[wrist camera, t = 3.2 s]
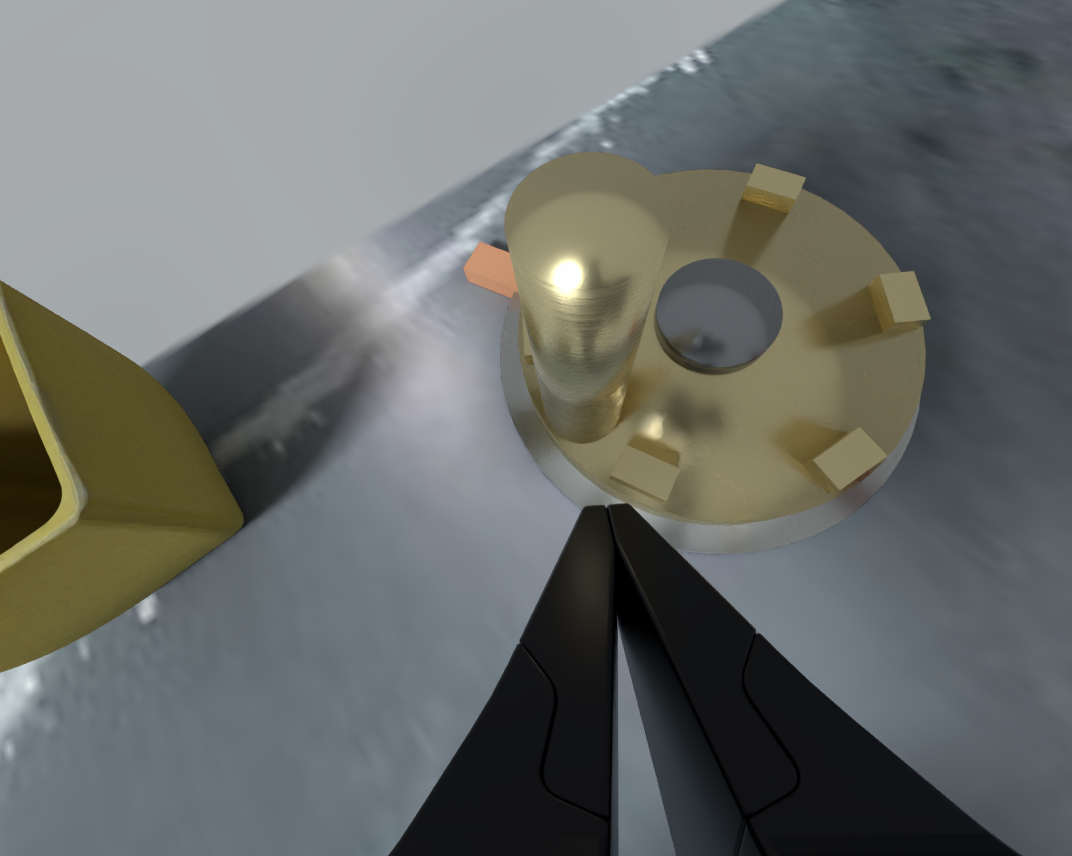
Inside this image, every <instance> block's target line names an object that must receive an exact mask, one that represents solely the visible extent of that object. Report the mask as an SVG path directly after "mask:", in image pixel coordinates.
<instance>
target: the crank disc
mask: <svg viewBox="0 0 1072 856" xmlns="http://www.w3.org/2000/svg"><path fill="white" fill-rule="evenodd" d="M805 179H806V177H803V176H799V175H796V174H792V173H789V172H785V171H782V170H778V169H775V168H771V167H768V166H764V165H761V164H756V166H755V168H754V170H753V172H752V173H746V172H738V171H731V170H708V169H704V170H688V171H679V172H673V173H667V174H661V175H657V176H654V175H653V174H652V173H651V172H650V171H649V170H648V169H646V168H645V167H643V166H642V165H640V164H638V163H636V162H634V161H632V160H630V159H628V158H625V157H622V156H619V155H615V154H610V153H603V152H582V153H575V154H570V155H566V156H562V157H559V158H557V159H554V160H551V161H549V162H547V163H545V164H543V165H542V166H540V167H539V168H537V169H536V170H534V171H533V172H531V173H530V174H529V175H528V176H527V177H526V178H525V179H524V180H523V181H522V182H521V183H520V184H519V185H518V187H517V188H516V190H515V191H514V193H513V194H512V196H511V198H510V200H509V203H508V206H507V209H506V214H505V225H504V226H505V235H506V239H507V244H508V248H509V253H510V257H511V262H512V266H513V271H514V275H515V280H516V284H517V289H518V293H519V298H520V302H521V308H520V314H519V320H518V346H519V355H520V363H521V367H522V371H523V375H524V378H525V382H526V386H527V389H528V393H529V396H530V399H531V402H532V405H533V407H534V409H535V412H536V414H537V416H538V419H539V421H540V423H541V424H542V426H543V428H544V429H545V431H546V433H547V434H548V436H549V438H550V439H551V441H552V442H553V444H554V445H555V446H556V447H557V449H558V450H559V451H560V452H561V454H562V455H563V456H564V457H565V459H566V460H567V461H568V462H569V463H570V464H571V465H572V466H574V467H575V468H576V469H577V470H578V471H579V472H580V473H581V474H582V475H583V476H584V477H585V478H587V479H588V480H589V481H591V482H592V483H593V484H595V485H596V486H597V487H599V488H600V489H601V490H603V491H604V492H606V493H608V494H609V495H611V496H613V497H615V498H616V499H618V500H620V501H622V502H624V503H628V504H630V505H631V506H632V507H634V508H637V509H639V510H642V511H644V512H647V513H649V514H652V515H655V516H659V517H663V518H667V519H670V520H674V521H678V522H684V523H692V524H699V525H730V526H733V525H741V524H749V523H757V522H763V521H767V520H771V519H776V518H780V517H784V516H787V515H791V514H795V513H799V512H803V511H806V510H809V509H811V508H814V507H816V506H818V505H821V504H823V503H826V502H828V501H830V500H833V499H835V498H836V497H838V496H840V495H841V494H843V493H845V492H846V491H848V490H850V489H851V488H853V487H854V486H856V485H858V484H859V483H860V482H861V481H863V480H864V479H865V478H866V477H867V476H869V475H870V474H871V473H872V472H873V471H874V470H876V469H877V468H878V467H879V466H880V465H881V464H882V463H883V462H884V460H885V459H886V458H887V457H888V456H889V455H890V453H891V452H892V451H893V450H894V449H895V448H896V446H897V445H898V443H899V442H900V440H901V438H902V437H903V435H904V433H905V432H906V430H907V429H908V427H909V425H910V423H911V421H912V418H913V416H914V413H915V411H916V408H917V406H918V403H919V400H920V396H921V391H922V387H923V382H924V378H925V361H926V348H925V339H924V330H923V325H924V324H925V323H927V322H928V321H929V320H931V318H930V315H929V312H928V309H927V306H926V303H925V301H924V298H923V295H922V292H921V289H920V287H919V284H918V281H917V278H916V275H915V273H914V271H909V272H901V271H900V270H899V268H898V266H897V265H896V263H895V261H894V260H893V259H892V258H891V256H890V255H889V254H888V253H887V251H886V250H885V249H884V248H883V246H882V245H881V244H880V243H879V242H878V241H877V240H876V239H875V238H874V237H873V236H872V235H871V234H870V233H869V232H868V231H867V230H866V229H865V228H864V227H863V226H862V225H861V224H859V223H858V222H857V221H856V220H854V219H853V218H852V217H850V216H849V215H848V214H846V213H845V212H844V211H843V210H841V209H839V208H838V207H836V206H834V205H833V204H831V203H829V202H828V201H826V200H825V199H823V198H821V197H819V196H817V195H815V194H813V193H811V192H808V191H806V190H804V189H802V186H803V184H804V181H805ZM710 258H723V259H730V260H735V261H738V262H741V263H744V264H746V265H748V266H751V267H752V268H754V269H756V270H757V271H759V272H760V273H761V274H763V275H764V276H765V277H766V278H767V279H768V280H769V281H770V282H771V284H772V285H773V286H774V288H775V289H776V291H777V293H778V295H779V297H780V300H781V304H782V309H783V321H782V326H781V329H780V332H779V334H778V336H777V338H776V339H775V341H774V342H773V343H772V345H771V346H770V347H769V348H768V349H767V350H766V352H765V353H764V354H763V355H762V356H761V357H760V358H759V359H758V360H757V361H756V362H754V363H753V364H751V365H750V366H748V367H746V368H744V369H742V370H739V371H736V372H732V373H726V374H708V373H702V372H698V371H695V370H692V369H690V368H687V367H685V366H683V365H682V364H680V363H679V362H677V361H676V360H674V359H673V358H672V357H671V356H670V355H669V354H668V353H667V352H666V351H665V350H664V348H663V347H662V345H661V344H660V342H659V340H658V338H657V335H656V332H655V328H654V311H655V307H656V304H657V301H658V297H659V294H660V291H661V289H662V287H663V285H664V284H665V282H666V281H667V280H668V278H669V277H670V276H671V275H672V274H673V273H675V272H676V271H677V270H678V269H680V268H681V267H683V266H685V265H687V264H689V263H692V262H695V261H698V260H703V259H710Z"/></svg>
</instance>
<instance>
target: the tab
mask: <svg viewBox="0 0 1072 856" xmlns="http://www.w3.org/2000/svg"><path fill="white" fill-rule="evenodd" d="M463 269H464V271H465V274H466V276H467V279H468V281H469V282H471V283H474V284H476V285H479V286H482V287H484V288H487V289H489V290H492V291H494V292H497V293H499V294H502V295H504V296H507V297H509V298H512V296H513V293H514V291H516V292H518V289H517V284H516V280H515V275H514V271H513V266H512V262H511V257H510V253H509V252H506V251H503V250H501V249H498V248H495V247H493V246H490V245H487V244H485V243H482V242H479V244H478V245H477V247H476V249H475V250H474V252H473V254H472V255H471V257H470V258H469V260H468V262H467V263H466V265H465V266H464V268H463Z"/></svg>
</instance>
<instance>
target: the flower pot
mask: <svg viewBox="0 0 1072 856" xmlns="http://www.w3.org/2000/svg"><path fill="white" fill-rule="evenodd" d="M243 523H244V517H243V513H242V511H241V509H240V508H239V506H238V504H237V502H236V500H235V498H234V496H233V495H232V493H231V491H230V489H229V487H228V486H227V484H226V482H225V480H224V478H223V477H222V475H221V473H220V471H219V469H218V467H217V465H216V463H215V461H214V459H213V457H212V456H211V454H210V452H209V450H208V448H207V446H206V444H205V442H204V440H203V439H202V437H201V436H200V434H199V432H198V431H197V429H196V427H195V426H194V424H193V423H192V421H191V420H190V419H189V417H188V416H187V414H186V413H185V412H184V410H183V409H182V407H181V406H180V405H179V404H178V403H177V401H176V400H175V399H174V398H173V397H172V396H171V395H170V393H169V392H168V391H167V390H166V389H165V388H164V387H163V386H162V385H161V384H160V383H159V382H158V381H157V380H155V379H154V378H153V377H152V376H151V375H150V374H148V373H147V372H146V371H145V370H144V369H142V368H141V367H140V366H139V365H137V364H136V363H134V362H133V361H131V360H130V359H128V358H127V357H125V356H124V355H122V354H121V353H119V352H117V351H116V350H114V349H112V348H111V347H109V346H107V345H106V344H104V343H103V342H101V341H99V340H98V339H96V338H95V337H93V336H91V335H90V334H88V333H87V332H85V331H83V330H81V329H80V328H78V327H76V326H75V325H73V324H72V323H70V322H68V321H67V320H65V319H63V318H62V317H60V316H59V315H57V314H55V313H54V312H52V311H50V310H49V309H47V308H45V307H44V306H42V305H40V304H39V303H37V302H35V301H34V300H32V299H30V298H29V297H27V296H25V295H24V294H22V293H20V292H19V291H17V290H15V289H14V288H12V287H10V286H9V285H7V284H5V283H4V282H2V281H0V673H1V672H4V671H7V670H10V669H12V668H15V667H18V666H21V665H23V664H26V663H28V662H31V661H33V660H36V659H38V658H40V657H43V656H45V655H47V654H50V653H52V652H54V651H56V650H58V649H60V648H62V647H65V646H67V645H68V644H70V643H72V642H74V641H76V640H78V639H80V638H82V637H83V636H85V635H87V634H89V633H91V632H93V631H94V630H96V629H98V628H99V627H101V626H103V625H104V624H106V623H108V622H109V621H111V620H113V619H114V618H116V617H118V616H119V615H121V614H122V613H124V612H125V611H127V610H128V609H130V608H131V607H133V606H134V605H136V604H137V603H139V602H140V601H142V600H143V599H145V598H146V597H148V596H149V595H151V594H152V593H153V592H155V591H156V590H158V589H159V588H160V587H162V586H163V585H165V584H166V583H167V582H169V581H170V580H171V579H173V578H174V577H176V576H177V575H178V574H180V573H181V572H182V571H184V570H185V569H187V568H188V567H189V566H191V565H192V564H193V563H195V562H196V561H198V560H199V559H200V558H202V557H203V556H205V555H206V554H207V553H209V552H210V551H212V550H213V549H215V548H216V547H217V546H219V545H220V544H221V543H223V542H224V541H226V540H227V539H229V538H230V537H231V536H233V535H234V534H235V533H236V532H237V531H238V530H239V529H240V528H241V527H242V526H243Z"/></svg>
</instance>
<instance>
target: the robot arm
mask: <svg viewBox="0 0 1072 856" xmlns="http://www.w3.org/2000/svg"><path fill="white" fill-rule="evenodd" d="M617 620H618V626H619V631H620V635H621V639H622V643H623V647H624V651H625V655H626V659H627V663H628V667H629V671H630V675H631V679H632V683H633V687H634V691H635V695H636V699H637V703H638V706H639V710H640V714H641V718H642V722H643V726H644V730H645V734H646V738H647V742H648V746H649V750H650V754H651V758H652V762H653V766H654V769H655V773H656V777H657V781H658V785H659V789H660V793H661V797H662V801H663V805H664V809H665V813H666V817H667V821H668V825H669V829H670V832H671V836H672V840H673V844H674V848H675V852H676V856H1022V855H1021V854H1019V853H1018V852H1016V851H1015V850H1013V849H1012V848H1011V847H1009V846H1008V845H1006V844H1005V843H1004V842H1002V841H1001V840H1000V839H998V838H997V837H995V836H994V835H993V834H991V833H990V832H989V831H987V830H986V829H985V828H984V827H982V826H981V825H980V824H979V823H977V822H976V821H975V820H974V819H972V818H971V817H970V816H969V815H967V814H966V813H965V812H964V811H962V810H961V809H960V808H959V807H958V806H956V805H955V804H954V803H953V802H952V801H951V800H949V799H948V798H947V797H946V796H945V795H943V794H942V793H941V792H940V791H939V790H937V789H936V788H935V787H934V786H933V785H931V784H930V783H929V782H928V781H927V780H925V779H924V778H923V777H922V776H921V775H919V774H918V773H917V772H916V771H915V770H913V769H912V768H911V767H910V766H909V765H907V764H906V763H905V762H904V761H903V760H901V759H900V758H899V757H898V756H897V755H895V754H894V753H893V752H892V751H891V750H889V749H888V748H887V747H886V746H885V745H884V744H882V743H881V742H880V741H879V740H878V739H876V738H875V737H874V736H873V735H872V734H870V733H869V732H868V731H867V730H866V729H864V728H863V727H862V726H861V725H860V724H858V723H857V722H856V721H855V720H854V719H852V718H851V717H850V716H849V715H848V714H847V713H846V712H844V711H843V710H842V709H841V708H840V707H839V706H837V705H836V704H835V703H834V702H833V701H832V700H831V699H829V698H828V697H827V696H826V695H825V694H824V693H822V692H821V691H820V690H819V689H818V688H817V687H816V686H814V685H813V684H812V683H811V682H810V681H809V680H808V679H807V678H806V677H805V676H804V675H803V674H802V673H800V672H799V671H798V670H797V669H796V668H795V667H794V666H793V665H792V664H791V663H790V662H789V661H788V660H787V659H786V658H785V657H784V656H783V655H781V654H780V653H779V652H778V651H777V650H776V649H775V648H774V647H773V646H772V645H771V644H770V643H769V642H768V641H767V640H766V639H765V638H764V637H763V636H762V635H761V634H760V633H757V634H756V629H755V628H754V627H753V626H752V625H751V624H750V623H749V622H748V621H747V620H746V619H745V618H744V617H743V616H742V615H741V614H740V613H739V612H738V611H737V610H736V609H735V608H734V607H733V606H732V605H731V604H730V603H729V602H728V601H727V600H726V599H725V598H724V597H723V596H722V595H721V594H720V593H719V592H718V591H717V590H716V589H715V588H714V587H713V586H712V585H711V584H710V583H709V582H708V581H707V580H706V579H705V578H704V577H703V576H702V575H701V574H700V573H699V572H698V571H697V570H696V569H695V568H694V567H693V566H692V565H691V564H690V563H689V562H688V561H687V560H685V559H684V558H683V557H682V556H681V555H680V554H679V553H678V552H677V551H676V550H675V549H674V548H673V547H672V546H671V545H670V544H669V543H668V542H667V541H666V540H665V539H664V538H663V537H662V536H661V535H660V534H659V533H658V532H657V531H656V530H655V529H654V528H653V527H652V526H651V525H650V524H649V523H648V522H647V521H646V520H645V519H644V518H643V517H642V516H641V515H640V514H639V513H638V512H637V511H636V510H635V509H634V508H633V507H632V506H631V505H630V504H628V503H620V504H609V505H608V506H607V508H606V506H604V505H589V506H585V507H583V509H582V511H581V513H580V515H579V517H578V519H577V521H576V523H575V526H574V528H573V530H572V532H571V534H570V536H569V538H568V540H567V542H566V544H565V546H564V548H563V551H562V553H561V555H560V557H559V559H558V561H557V563H556V565H555V567H554V569H553V571H552V573H551V576H550V578H549V580H548V582H547V584H546V586H545V588H544V590H543V592H542V594H541V596H540V599H539V601H538V603H537V605H536V607H535V609H534V611H533V613H532V615H531V617H530V619H529V621H528V624H527V626H526V628H525V630H524V632H523V634H522V636H521V638H520V644H517V646H516V648H515V650H514V652H513V654H512V656H511V658H510V661H509V663H508V665H507V667H506V669H505V670H504V672H503V674H502V676H501V678H500V680H499V682H498V684H497V686H496V688H495V690H494V691H493V693H492V695H491V697H490V699H489V700H488V702H487V704H486V705H485V707H484V709H483V710H482V712H481V714H480V715H479V717H478V719H477V720H476V722H475V724H474V725H473V727H472V729H471V730H470V732H469V733H468V735H467V736H466V738H465V740H464V741H463V743H462V744H461V746H460V747H459V749H458V751H457V752H456V754H455V755H454V757H453V758H452V760H451V761H450V763H449V765H448V766H447V768H446V769H445V771H444V772H443V774H442V776H441V777H440V779H439V780H438V782H437V783H436V785H435V786H434V788H433V790H432V791H431V793H430V794H429V796H428V797H427V799H426V801H425V802H424V804H423V805H422V807H421V808H420V810H419V811H418V813H417V815H416V816H415V818H414V819H413V821H412V822H411V824H410V825H409V827H408V828H407V830H406V831H405V833H404V834H403V836H402V837H401V839H400V840H399V842H398V843H397V845H396V846H395V847H394V849H393V850H392V851H391V853H390V854H389V855H388V856H618V627H617Z"/></svg>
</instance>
